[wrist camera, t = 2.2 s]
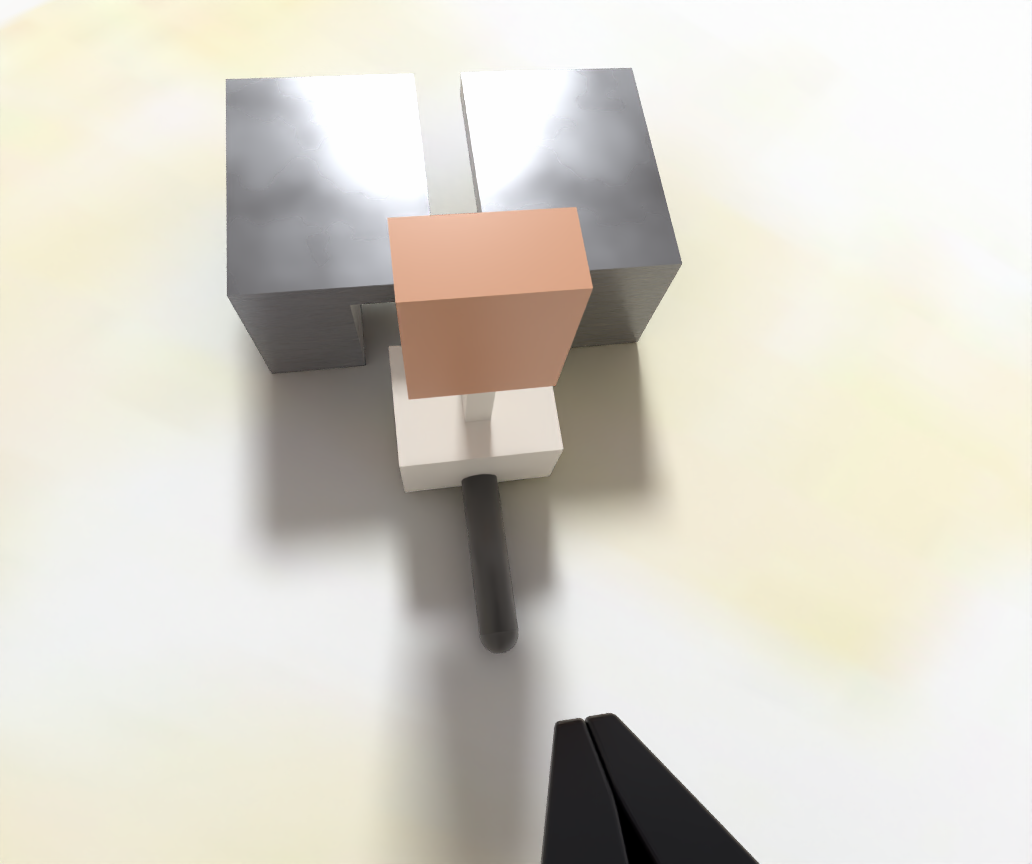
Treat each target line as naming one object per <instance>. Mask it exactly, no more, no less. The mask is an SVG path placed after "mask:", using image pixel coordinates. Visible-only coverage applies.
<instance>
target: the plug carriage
mask: <svg viewBox="0 0 1032 864" xmlns="http://www.w3.org/2000/svg"><path fill="white" fill-rule="evenodd" d="M387 219H388V229H389V240H390V250H391V260H392V271H393V281H394V291H395V302H396V309H397V317H398V324H399V332H400V339H401V345H398V346H388V347H389V358H390V369H391V380H392V391H393V402H394V413H395V425H396V436H397V447H398V458H399V468H400V472H401V477H402V481H403V486H404V490H405V492H413V491H422V490H431V489H440V488H448V487H457V486H462V491H463V500H464V508H465V516H466V525H467V533H468V541H469V549H470V558H471V566H472V574H473V583H474V591H475V599H476V608H477V616H478V624H479V633H480V639H481V642H482V644H483V645H484V647H485V648H486V649H487V650H489V651H491V652H493V653H505V652H507V651H509V650H510V649H512V648H513V646H514V645H515V643H516V641H517V639H518V626H517V619H516V612H515V605H514V597H513V590H512V583H511V576H510V568H509V561H508V554H507V547H506V539H505V532H504V525H503V518H502V511H501V503H500V496H499V489H498V482H502V481H510V480H519V479H528V478H537V477H546V476H550V474H551V472H552V470H553V468H554V466H555V465H556V463H557V461H558V459H559V457H560V455H561V453H562V451H563V443H562V438H561V432H560V426H559V420H558V415H557V409H556V403H555V397H554V392H553V386H556V384H557V381H558V379H559V376H560V373H561V371H562V368H563V366H564V363H565V360H566V358H567V355H568V353H569V350H570V347H571V345H572V342H573V339H574V337H575V334H576V332H577V329H578V326H579V324H580V321H581V318H582V316H583V313H584V311H585V308H586V305H587V303H588V300H589V297H590V295H591V292H592V290H593V286H592V281H591V276H590V271H589V266H588V261H587V256H586V251H585V247H584V242H583V237H582V232H581V227H580V222H579V217H578V212H577V208H576V207H569V208H551V209H533V210H516V211H498V212H481V213H463V214H445V215H428V216H410V217H393V218H387Z"/></svg>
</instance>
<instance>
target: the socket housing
mask: <svg viewBox="0 0 1032 864" xmlns="http://www.w3.org/2000/svg"><path fill="white" fill-rule="evenodd" d="M460 97H461V104H462V111H463V117H464V124H465V131H466V138H467V144H468V151H469V158H470V165H471V171H472V178H473V185H474V192H475V198H476V205H477V212H478V213H481V212H498V211H516V210H533V209H551V208H569V207H576V208H577V212H578V217H579V222H580V227H581V232H582V237H583V242H584V247H585V251H586V256H587V261H588V266H589V271H590V276H591V281H592V286H593V290H592V292H591V295H590V297H589V300H588V303H587V305H586V308H585V311H584V313H583V316H582V318H581V321H580V324H579V326H578V329H577V332H576V334H575V337H574V339H573V342H572V345H571V347H570V348H573V347H584V346H596V345H607V344H619V343H630V342H637V341H638V340H639V338H640V336H641V334H642V333H643V331H644V329H645V327H646V326H647V324H648V322H649V320H650V319H651V317H652V315H653V313H654V312H655V310H656V308H657V307H658V305H659V303H660V301H661V300H662V298H663V296H664V294H665V293H666V291H667V289H668V287H669V286H670V284H671V282H672V280H673V279H674V277H675V275H676V274H677V272H678V270H679V268H680V267H681V265H682V261H681V257H680V254H679V250H678V246H677V242H676V238H675V234H674V230H673V226H672V222H671V219H670V215H669V211H668V207H667V203H666V199H665V195H664V191H663V187H662V184H661V180H660V176H659V172H658V168H657V164H656V160H655V156H654V152H653V149H652V145H651V141H650V137H649V133H648V129H647V125H646V121H645V117H644V113H643V110H642V106H641V102H640V98H639V94H638V90H637V86H636V82H635V78H634V75H633V71H632V68H611V69H575V70H539V71H503V72H467V73H461V91H460ZM226 185H227V296H228V298H229V300H230V302H231V303H232V305H233V307H234V309H235V310H236V312H237V314H238V316H239V317H240V319H241V321H242V322H243V324H244V326H245V328H246V329H247V331H248V333H249V335H250V336H251V338H252V340H253V342H254V343H255V345H256V347H257V349H258V350H259V352H260V354H261V355H262V357H263V359H264V361H265V362H266V364H267V366H268V368H269V369H270V371H271V373H283V372H294V371H306V370H318V369H329V368H341V367H352V366H364V365H366V364H365V351H364V338H363V325H362V312H361V304H370V303H383V302H395V291H394V281H393V271H392V260H391V250H390V240H389V229H388V219H387V218H393V217H410V216H428V215H430V208H429V199H428V191H427V183H426V175H425V166H424V158H423V150H422V142H421V133H420V125H419V117H418V109H417V100H416V92H415V84H414V76H413V74H396V75H360V76H324V77H288V78H252V79H226Z"/></svg>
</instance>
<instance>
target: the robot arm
mask: <svg viewBox="0 0 1032 864" xmlns="http://www.w3.org/2000/svg"><path fill="white" fill-rule="evenodd" d="M541 864H759V863H758V862H757V861H756V860H755V859H754V858H753V857H752V855H751V854H750V853H749V852H748V851H747V850H746V849H745V848H744V847H743V846H742V845H741V844H740V843H739V842H738V841H737V840H736V839H735V838H734V837H733V836H732V835H731V834H730V833H729V832H728V831H727V830H726V829H725V828H724V826H723V825H722V824H721V823H720V822H719V821H718V820H717V819H716V818H715V817H714V816H713V815H712V814H711V813H710V812H709V811H708V810H707V809H706V808H705V807H704V806H703V805H702V804H701V803H700V802H699V801H698V800H697V798H696V797H695V796H694V795H693V794H692V793H691V792H690V791H689V790H688V789H687V788H686V787H685V786H684V785H683V784H682V783H681V782H680V781H679V780H678V779H677V778H676V777H675V776H674V775H673V774H672V773H671V772H670V771H669V769H668V768H667V767H666V766H665V765H664V764H663V763H662V762H661V761H660V760H659V759H658V758H657V757H656V756H655V755H654V754H653V753H652V752H651V751H650V750H649V749H648V748H647V747H646V746H645V745H644V744H643V743H642V741H641V740H640V739H639V738H638V737H637V736H636V735H635V734H634V733H633V732H632V731H631V730H630V729H629V728H628V727H627V726H626V725H625V724H624V723H623V722H622V721H621V720H620V719H619V718H618V717H617V716H616V715H615V714H612V713H606V714H599V715H593V716H589V717H587V718H586V719H585V721H584V720H583V719H581V718H575V719H569V720H563V721H558V722H557V723H556V724H555V727H554V735H553V745H552V756H551V766H550V776H549V786H548V796H547V806H546V816H545V826H544V836H543V846H542V856H541Z"/></svg>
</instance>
